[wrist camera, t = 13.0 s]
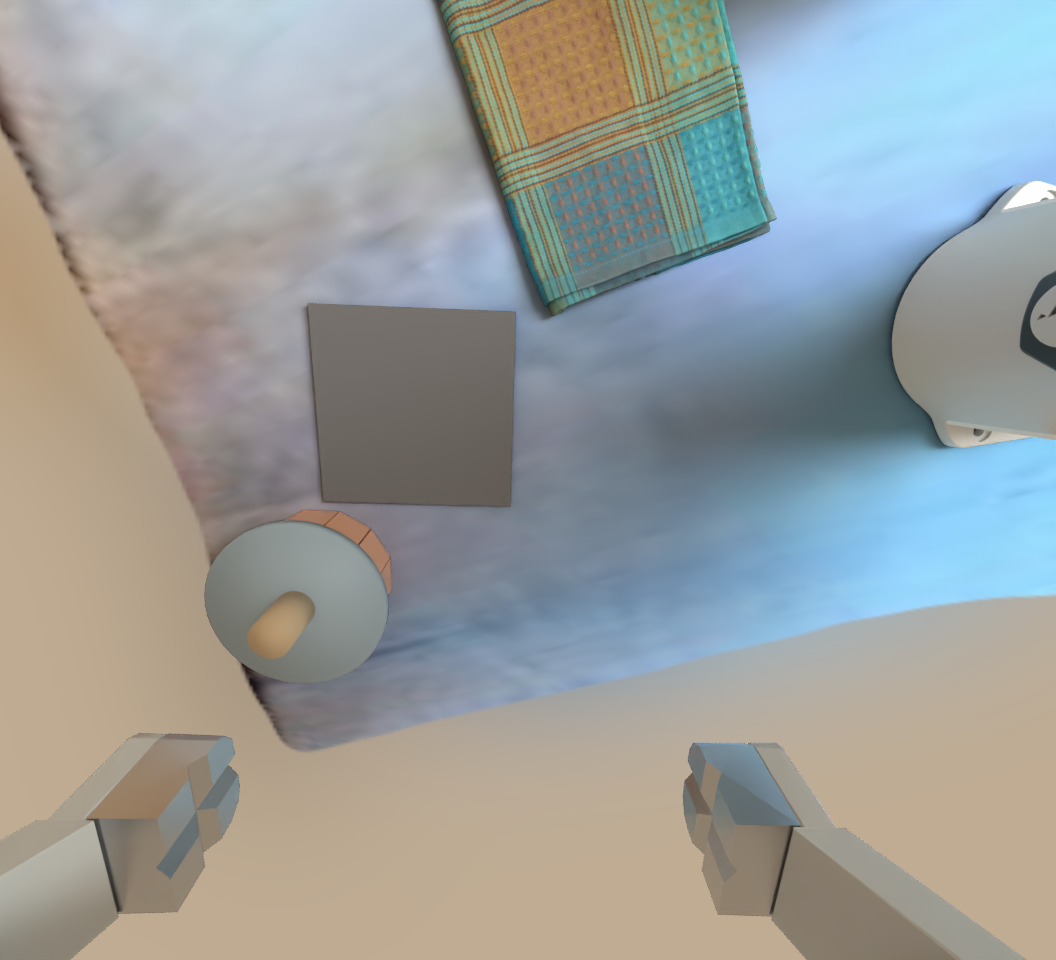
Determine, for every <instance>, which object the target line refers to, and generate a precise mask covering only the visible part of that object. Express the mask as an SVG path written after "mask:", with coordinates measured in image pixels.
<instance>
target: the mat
mask: <svg viewBox="0 0 1056 960" xmlns="http://www.w3.org/2000/svg"><path fill="white" fill-rule="evenodd" d="M308 314H309V327H310V339H311V352H312V364H313V377H314V389H315V402H316V415H317V427H318V440H319V452H320V465H321V477H322V490H323V501H328V502H363V503H398V504H433V505H467V506H502V507H510V502H511V468H512V433H513V399H514V364H515V330H516V312H511V311H486V310H461V309H437V308H412V307H387V306H363V305H338V304H313V303H308Z"/></svg>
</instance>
